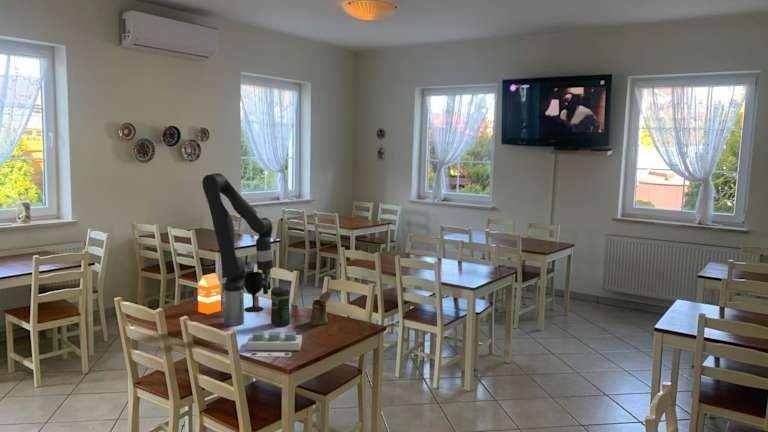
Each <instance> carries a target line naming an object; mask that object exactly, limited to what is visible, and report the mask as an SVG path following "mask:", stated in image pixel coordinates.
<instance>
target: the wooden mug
mask: <svg viewBox="0 0 768 432" xmlns="http://www.w3.org/2000/svg"><path fill="white" fill-rule="evenodd" d="M331 296H332V294H331V292H329V291H325V292H323V293H322V294H320V296H319V298H318V299H314V300H313V302H312V305H311V306H312V308H311V315H310V320H309V324H310V325H312V326H313V325H314V326H322V325H323V326H324V325H327V324H328V323H329V319H328V313H327V301H329V300H330V298H331Z"/></svg>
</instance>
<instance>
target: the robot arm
mask: <svg viewBox="0 0 768 432" xmlns="http://www.w3.org/2000/svg"><path fill="white" fill-rule="evenodd" d="M201 185H202V189H203V192H204V195H205V198H206V201H207V204H208V207H209V211H210V215H211V220H212V226H213V229H214V233H215V237H216V242H217V246H218V249H219V250H218V251H219V253H220V254H219V255H220V260H221V261H220V263H221V271H222V273H223V274H224V275H225V277H226V279H225V283H224V291H223V293H224V305H223V325H224V326H231V327H232V326H233V327H234V326H235V327H236V326H241V325H243V324H244V323H245V311H244V309H245V305H244V304H245V300H244V295H245V294H244V293H245V292H244V289H245V287H244V282H245V273H246V272H245V271H246V267H245V266H246V265H245V261H244V260H243V259H242V258H241V257H239V256H237V254H236V249H235V238H236V237H235V236H236V235H235V227H234V226H235V225H234V223H233V217H232V215H231V214H230V212H229V211H228V209H227V208H226V207H225V205H224V203H223V200H222V197H221V194H222V195H223V196H224V197H226V198H227V200H228V201H229V203H230V205H231V207H232V208H233V210H234V211H235V212H236V214H238V215H239V216H240V218H242V219H243V220H244V221H245V222H246V223H247V225H248V226H249V228H250V229H251V230H252V231H253V232H254V233H256V234H258V237H257V238H256V240H255V246H256V247H255V248H256V249H255V250H256V254H255V256H256V266H257V267H256V268H257V270H259V271H261V286H262V292H263V293H262V294H263V295H268V294H269V291H271V290H272V287H271V282H272V274H271V270H273V268H274V261H273V260H274V259H273V252H272V244H271V240H272V233H273V223H272V221H271V220H270V218H269V217H266V216H265V217H261V218H260V217H259V216H258V212H257V210H256V209H255V208H254V207H253V205H251V204H250V203H249V202H248V201H247V200H245V198H244V197H243V196H242V195H240V193H239V192H238V191H237V190H236V189H235V187H234V186H233V185H232V184H231V182H230V181H229V180H228V179H227V177H226V176H225V175H224V174H222V173H211V174H206V175H204V176H203V178H202V184H201Z"/></svg>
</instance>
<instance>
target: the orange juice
mask: <svg viewBox="0 0 768 432" xmlns="http://www.w3.org/2000/svg"><path fill="white" fill-rule="evenodd" d="M197 301H198V302H197V303H198V304H197V305H198V306H197V308H198V313H202V314H206V315H210V314H212V313H216V312H221V311H222V309H221V308H222V307H221V303H222V299H221V283H220V281H219V279H218V276H217V274H216V272H213V273H209V274H205V275H202V276H201V277H200V280H199V282H198V284H197Z"/></svg>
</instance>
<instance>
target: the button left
mask: <svg viewBox="0 0 768 432" xmlns="http://www.w3.org/2000/svg"><path fill="white" fill-rule="evenodd" d="M252 335H253V341H264V339H265V338H264V335H265V331H254V332H253V333H252Z"/></svg>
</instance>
